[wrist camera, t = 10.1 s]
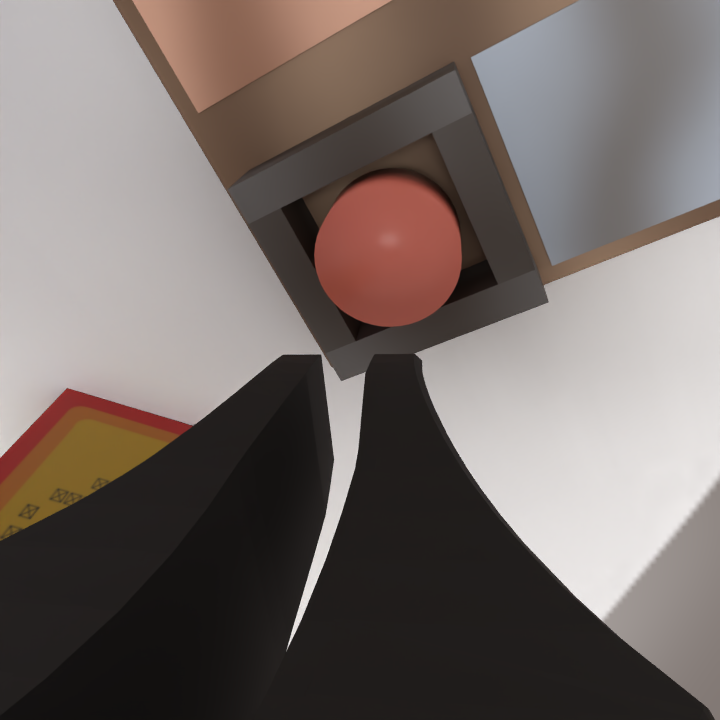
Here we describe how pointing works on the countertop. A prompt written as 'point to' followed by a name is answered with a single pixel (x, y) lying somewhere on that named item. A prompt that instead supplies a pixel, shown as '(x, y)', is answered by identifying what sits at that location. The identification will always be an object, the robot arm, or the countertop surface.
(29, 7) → the countertop surface
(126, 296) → the countertop surface
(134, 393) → the countertop surface
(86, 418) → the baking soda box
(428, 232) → the button
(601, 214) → the compartment tray
